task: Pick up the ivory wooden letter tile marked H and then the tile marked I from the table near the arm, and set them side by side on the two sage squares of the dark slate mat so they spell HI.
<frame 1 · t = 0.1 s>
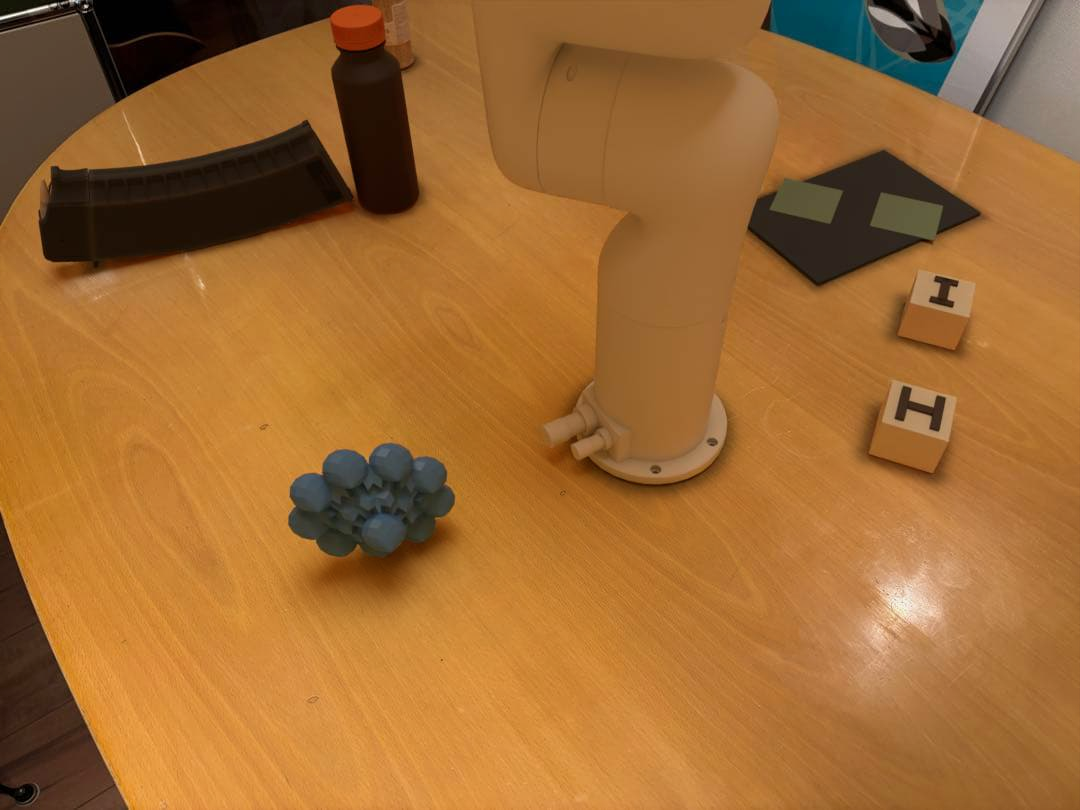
tile I: (929, 325, 80), on the table
grapes: (389, 560, 65), on the table
sprinkles bottle: (398, 64, 117), on the table
magazine: (212, 239, 92), on the table
vinegar: (389, 198, 96), on the table
mat: (853, 213, 92), on the table
tile H: (905, 441, 71), on the table
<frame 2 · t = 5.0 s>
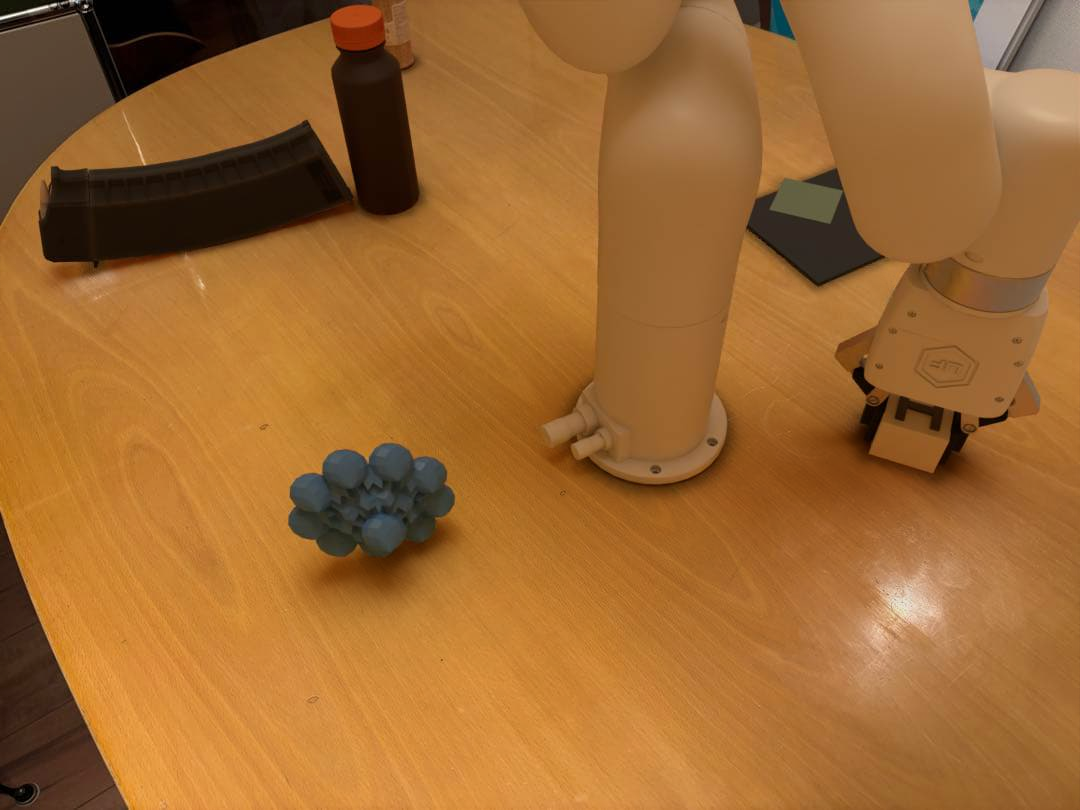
hand: (906, 438, 71), 0 cm above the table, tool pointing down, fingers closed on tile H, 5 cm apart
tile H: (905, 441, 71), on the table, touching gripper
everything else where it was.
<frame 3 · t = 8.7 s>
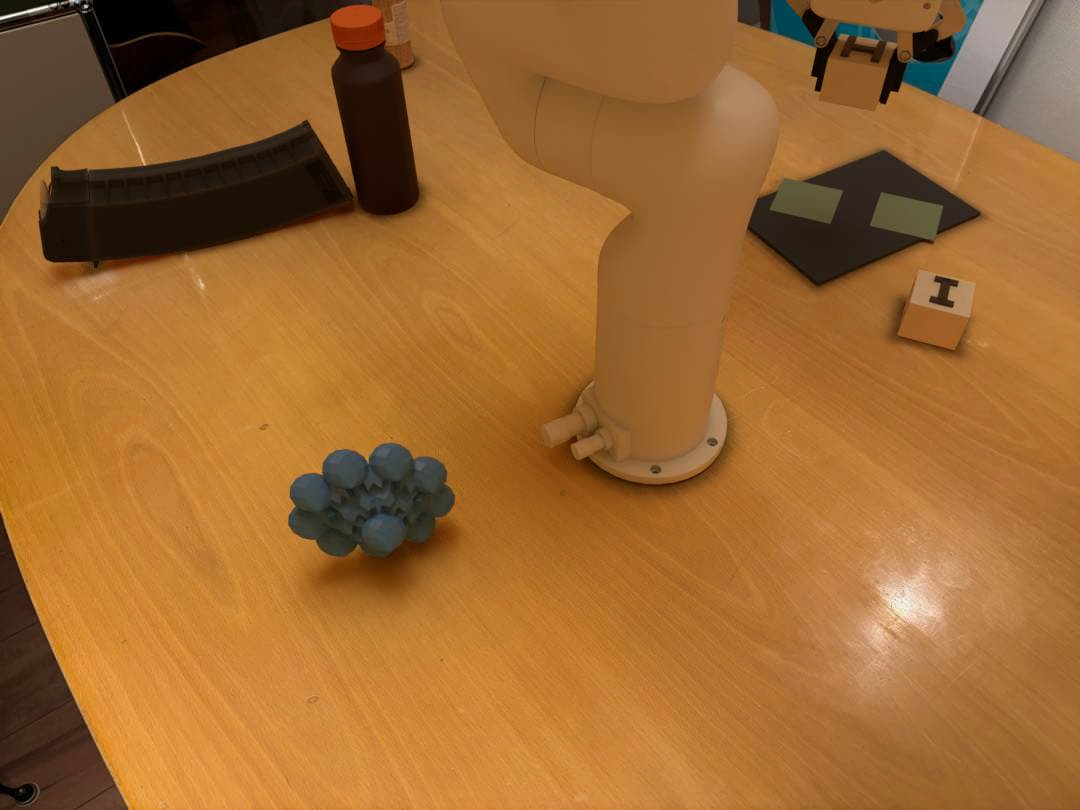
hand: (853, 88, 79), 15 cm above the table, tool pointing down, fingers closed on tile H, 5 cm apart
tile H: (852, 93, 79), point 15 cm above the table, touching gripper
everything else where it was.
when the fingers open (1 cm above the table, at t = 12.7 s): tile H stays where it is, resting on mat.
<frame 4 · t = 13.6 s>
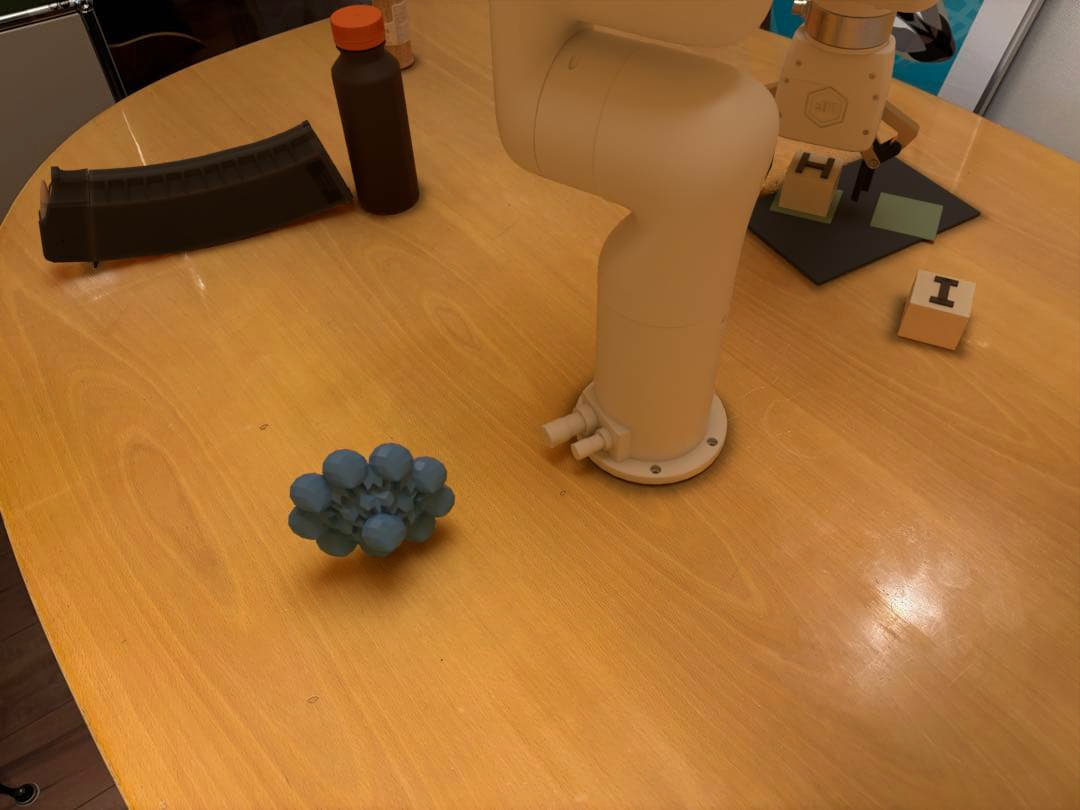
hand: (809, 184, 91), 3 cm above the table, tool pointing down, fingers open, 9 cm apart
tile H: (807, 199, 93), resting on mat
everything else where it was.
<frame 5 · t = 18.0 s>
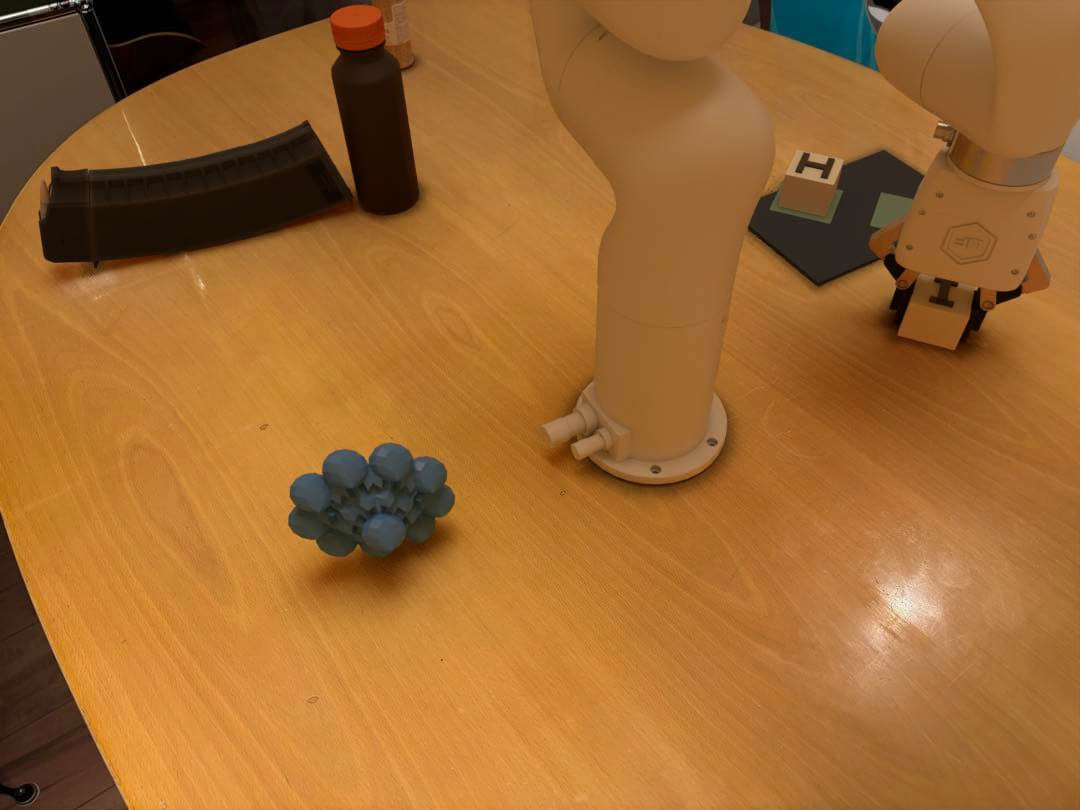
hand: (931, 322, 80), 0 cm above the table, tool pointing down, fingers closed on tile I, 5 cm apart
tile I: (929, 325, 80), on the table, touching gripper
everything else where it was.
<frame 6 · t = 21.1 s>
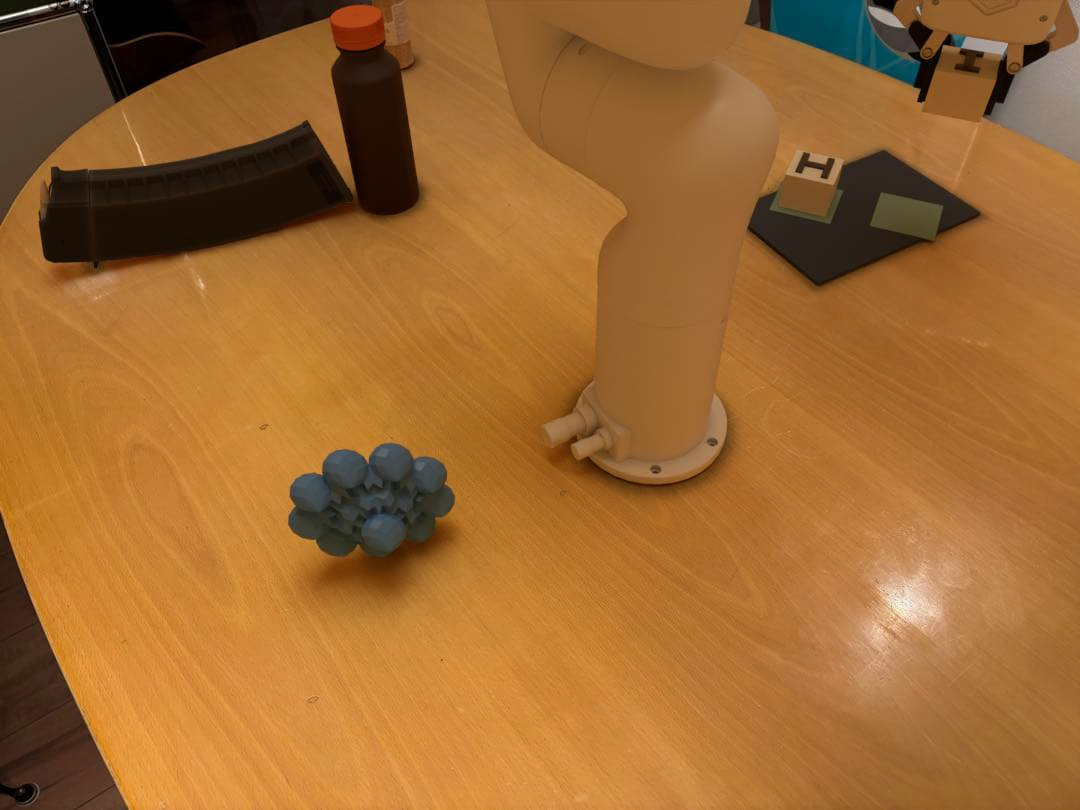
hand: (955, 99, 79), 14 cm above the table, tool pointing down, fingers closed on tile I, 5 cm apart
tile I: (954, 104, 79), point 14 cm above the table, touching gripper
everything else where it was.
when the fingers open (1 cm above the table, at t = 24.6 s): tile I stays where it is, resting on mat.
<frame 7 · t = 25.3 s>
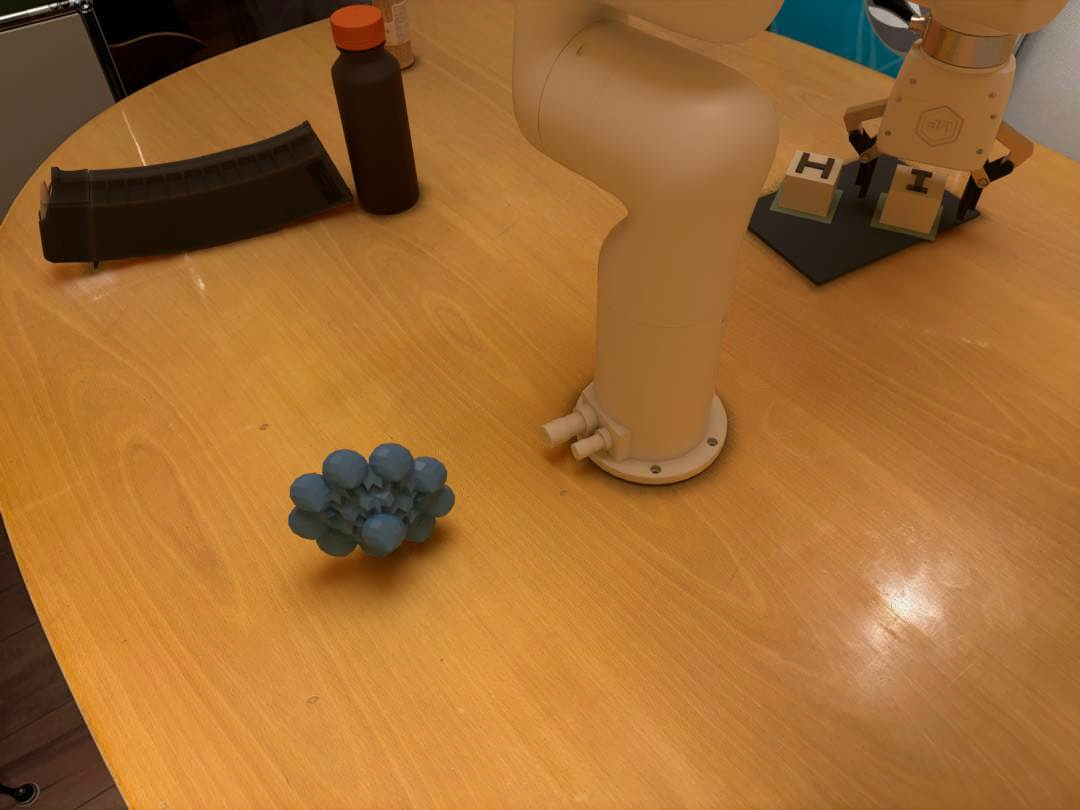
hand: (911, 202, 89), 2 cm above the table, tool pointing down, fingers open, 9 cm apart
tile I: (907, 215, 91), resting on mat
everything else where it was.
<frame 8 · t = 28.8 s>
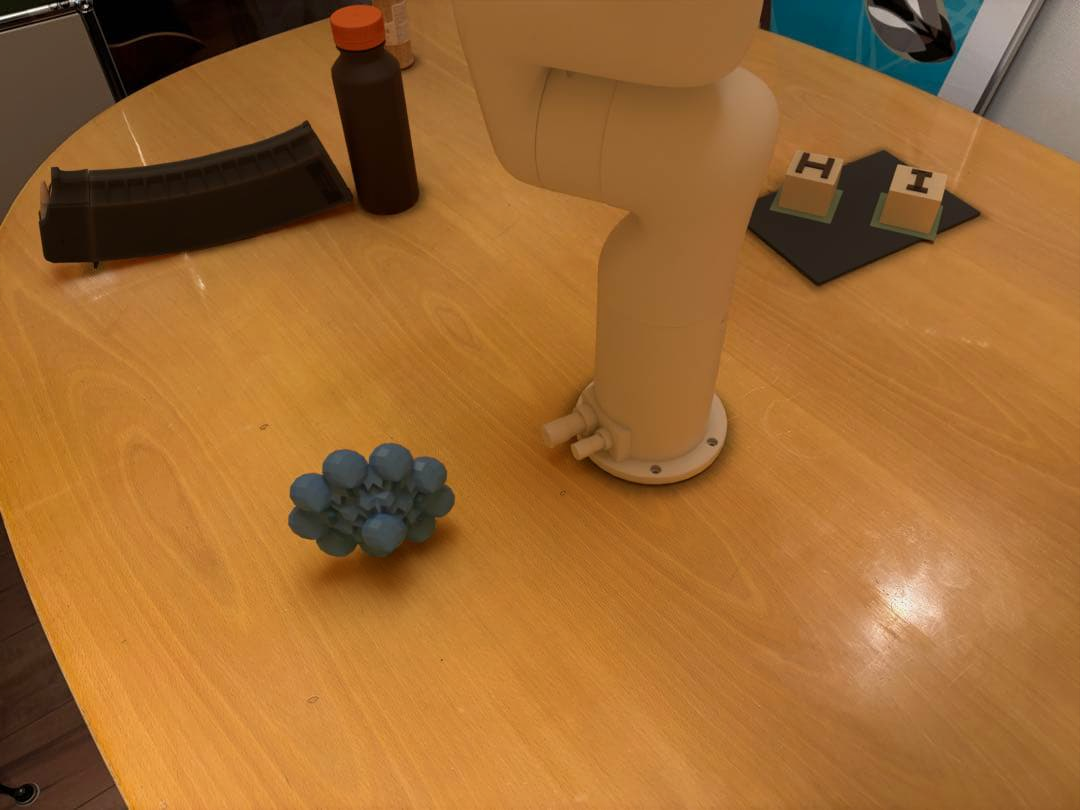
nothing on the table moved.
at the end: tile H 0.1 cm from the target spot on the mat, point 0.4 cm above the mat's base; tile I 0.1 cm from the target spot on the mat, point 0.4 cm above the mat's base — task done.
